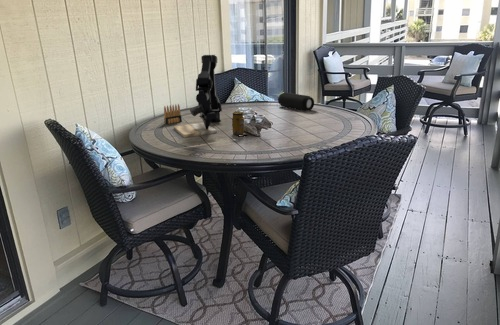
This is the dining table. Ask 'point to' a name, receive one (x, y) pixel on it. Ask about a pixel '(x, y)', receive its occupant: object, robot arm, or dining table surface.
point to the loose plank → (203, 128)
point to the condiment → (238, 123)
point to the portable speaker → (296, 101)
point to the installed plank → (186, 131)
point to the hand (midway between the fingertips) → (206, 128)
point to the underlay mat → (185, 137)
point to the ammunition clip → (172, 115)
